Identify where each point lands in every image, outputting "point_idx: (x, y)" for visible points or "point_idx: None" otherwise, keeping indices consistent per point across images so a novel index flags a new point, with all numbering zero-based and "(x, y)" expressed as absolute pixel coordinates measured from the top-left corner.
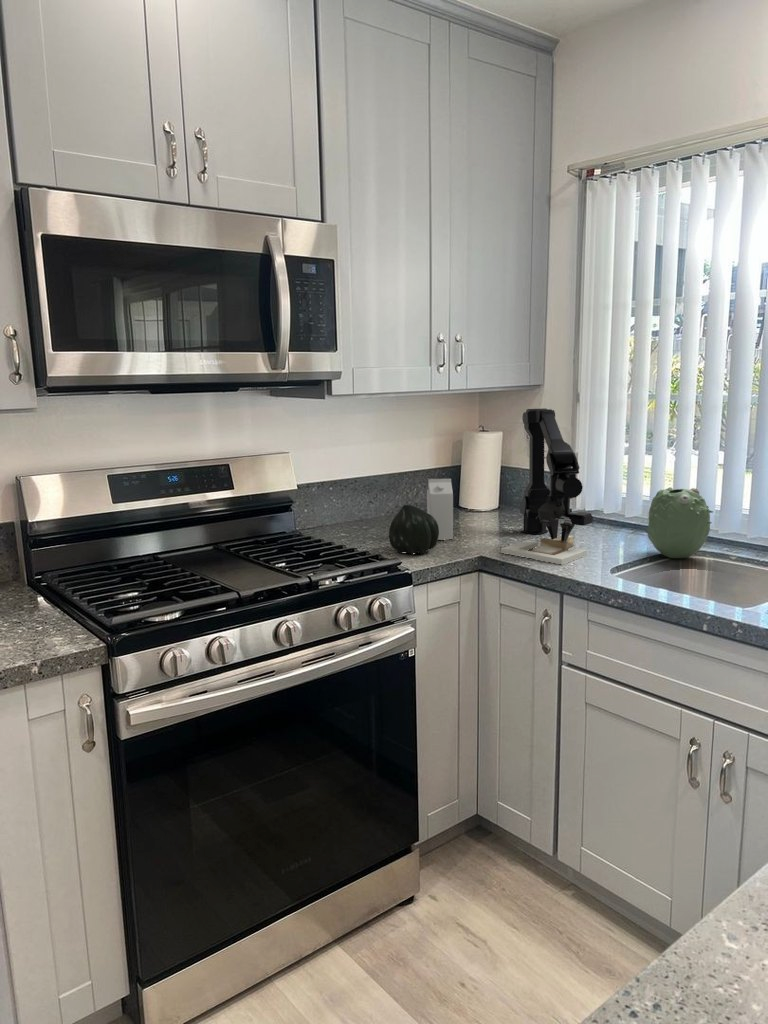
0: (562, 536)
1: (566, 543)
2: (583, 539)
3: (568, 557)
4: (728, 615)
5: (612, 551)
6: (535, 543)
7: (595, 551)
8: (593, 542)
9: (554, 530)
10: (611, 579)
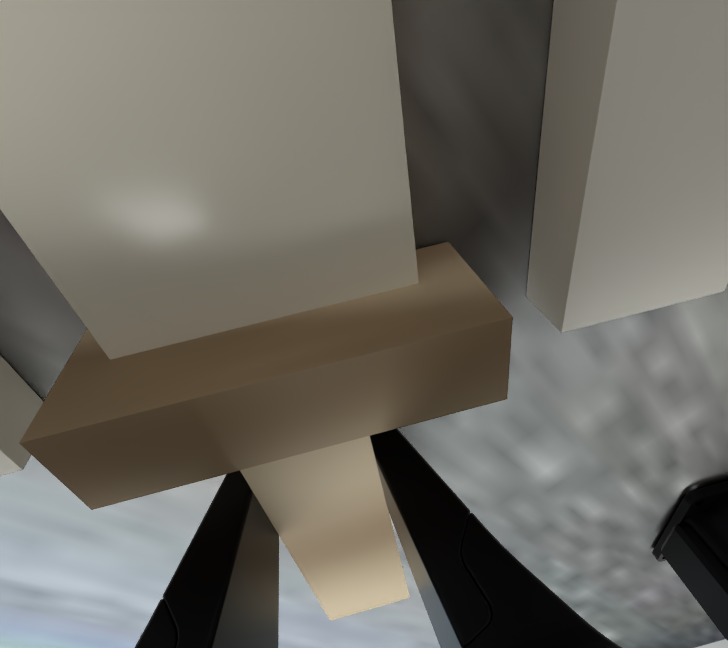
0: (212, 557)
1: (65, 467)
2: (402, 605)
3: None
4: None
5: (8, 626)
6: (567, 270)
7: (62, 561)
8: (311, 617)
9: (431, 601)
10: None
